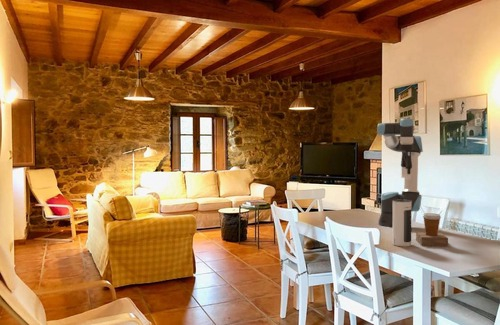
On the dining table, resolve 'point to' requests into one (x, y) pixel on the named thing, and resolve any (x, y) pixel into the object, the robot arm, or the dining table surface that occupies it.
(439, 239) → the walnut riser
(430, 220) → the disposable coffee cup
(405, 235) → the speaker
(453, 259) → the dining table surface
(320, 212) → the dining table surface
